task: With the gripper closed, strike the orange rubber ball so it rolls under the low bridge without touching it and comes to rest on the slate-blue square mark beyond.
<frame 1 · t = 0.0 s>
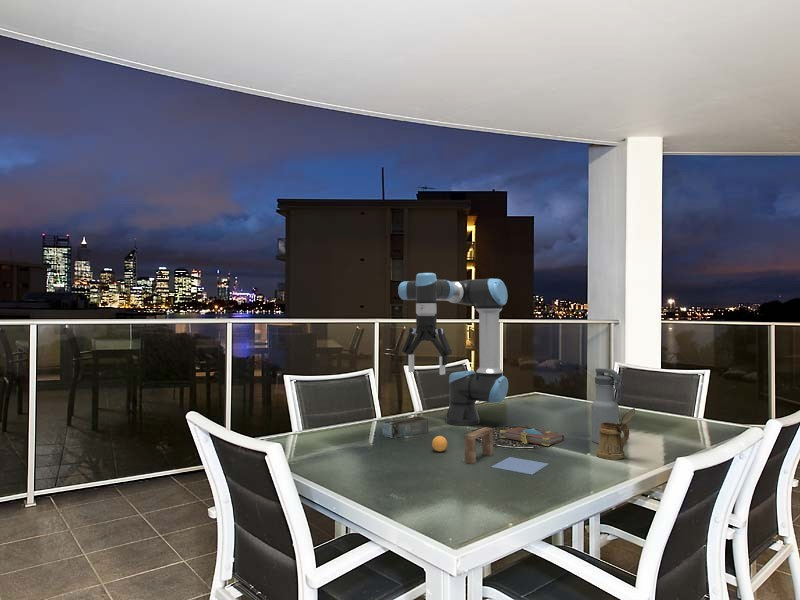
hand: (426, 373, 196), 28 cm above the table, fingers open, 13 cm apart
water bottle: (605, 442, 205), on the table
bridge: (479, 458, 184), on the table
wooden mug: (616, 458, 184), on the table
book: (526, 440, 212), on the table
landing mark: (520, 465, 175), on the table
beverage carton: (405, 435, 221), on the table
ball: (439, 443, 193), on the table
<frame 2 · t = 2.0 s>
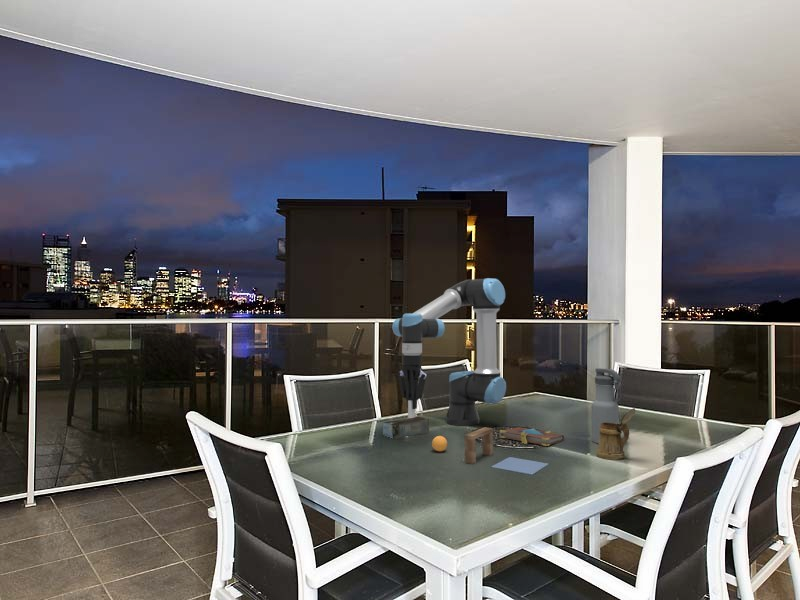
hand: (411, 417, 200), 11 cm above the table, fingers closed
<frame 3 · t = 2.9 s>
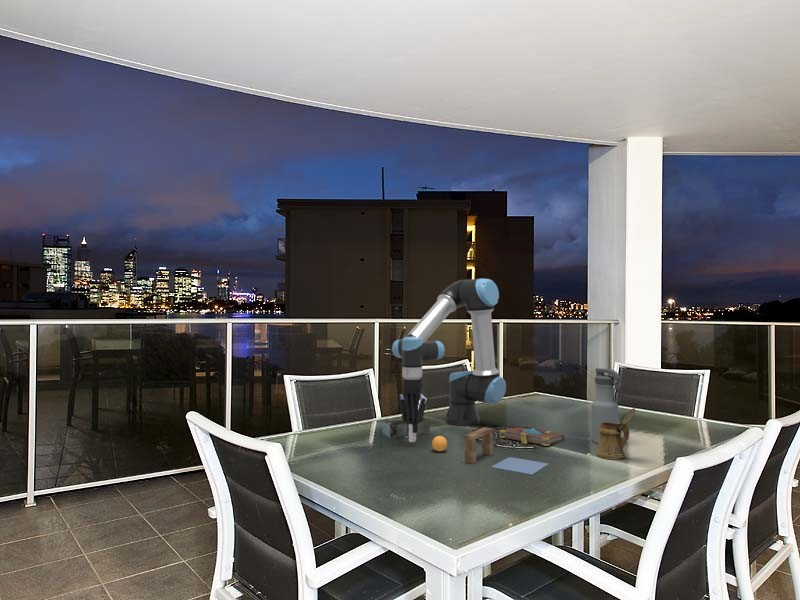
hand: (412, 441, 200), 2 cm above the table, fingers closed
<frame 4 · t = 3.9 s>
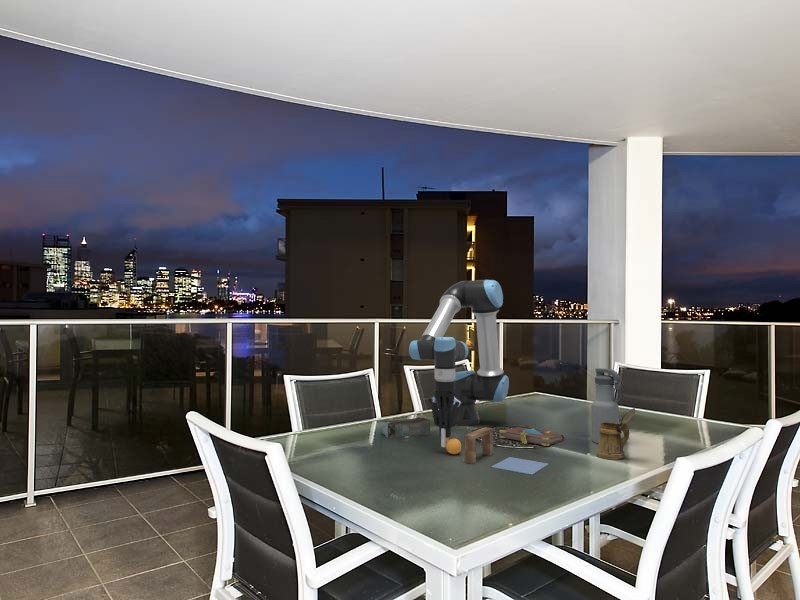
hand: (445, 446, 191), 2 cm above the table, fingers closed
ball: (453, 446, 190), on the table
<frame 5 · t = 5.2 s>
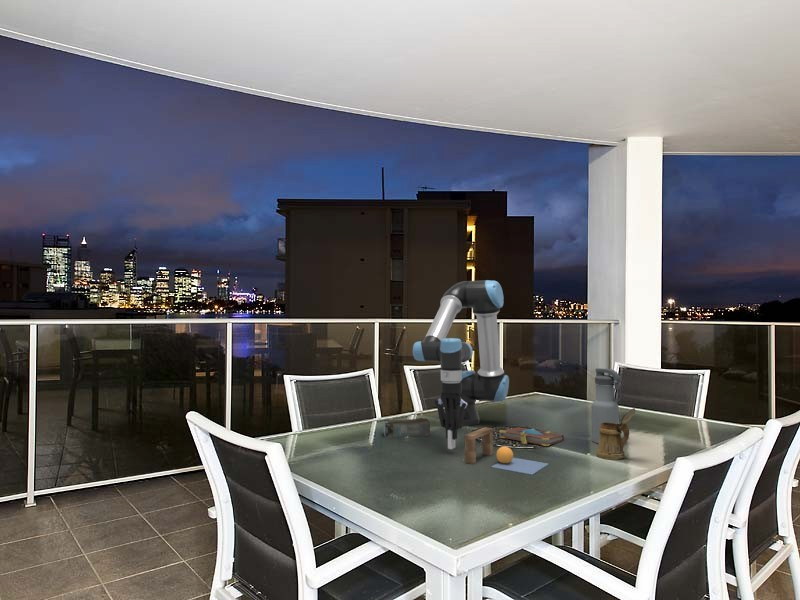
hand: (451, 448, 190), 2 cm above the table, fingers closed
ball: (504, 455, 178), on the table
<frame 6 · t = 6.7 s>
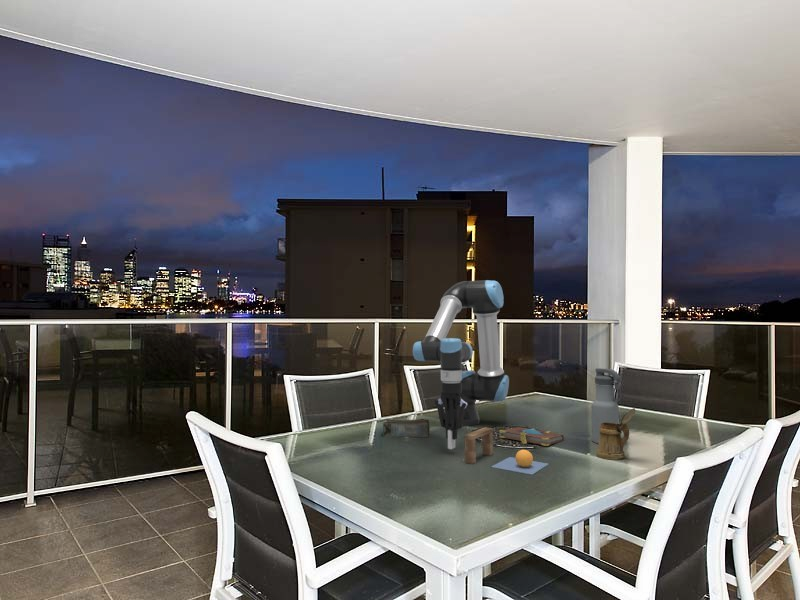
hand: (451, 448, 190), 2 cm above the table, fingers closed
ball: (524, 458, 174), on the table
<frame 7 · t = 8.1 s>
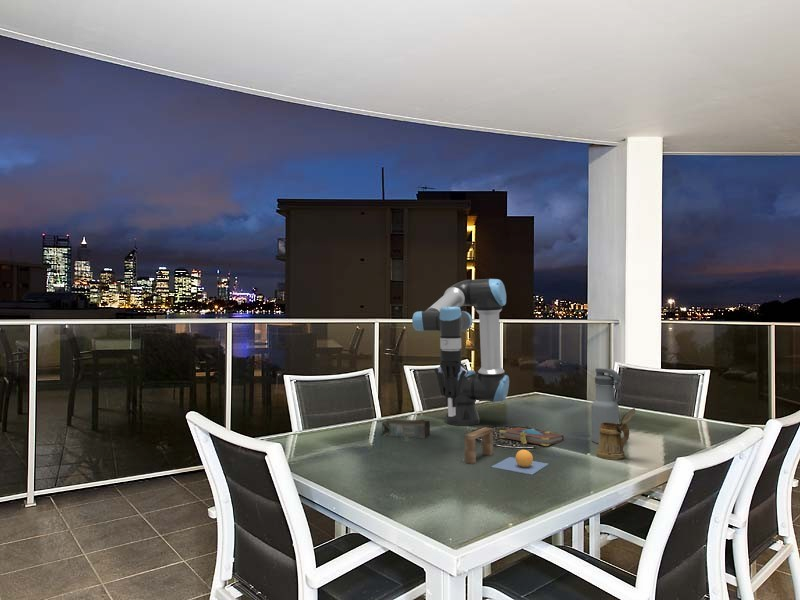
hand: (451, 415, 191), 13 cm above the table, fingers closed
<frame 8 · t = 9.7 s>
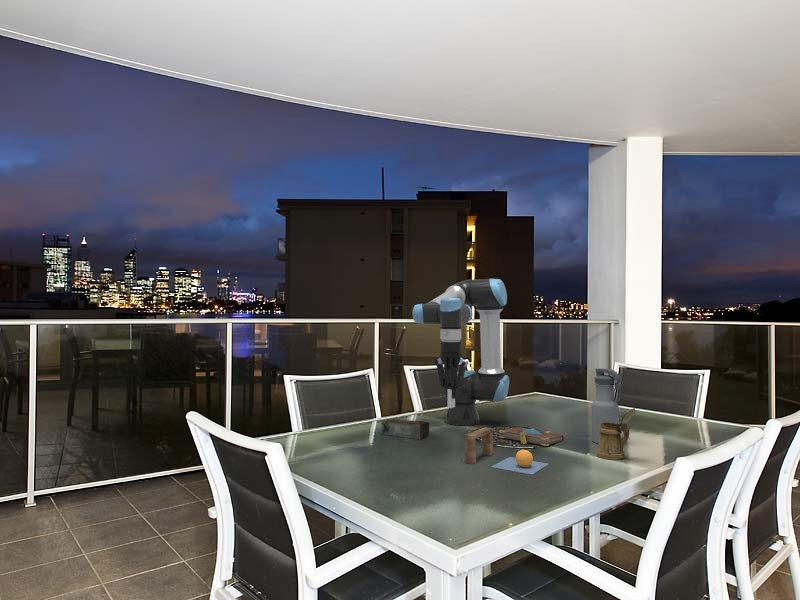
hand: (451, 407, 191), 16 cm above the table, fingers closed
at the end: ball 1.7 cm from the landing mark (horizontally); ball never touched bridge; ball at rest at the end (0.0 cm/s) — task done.
